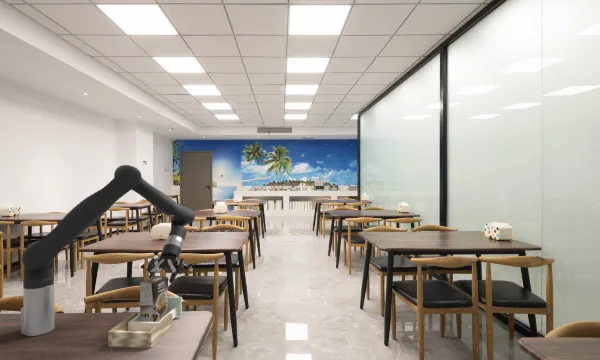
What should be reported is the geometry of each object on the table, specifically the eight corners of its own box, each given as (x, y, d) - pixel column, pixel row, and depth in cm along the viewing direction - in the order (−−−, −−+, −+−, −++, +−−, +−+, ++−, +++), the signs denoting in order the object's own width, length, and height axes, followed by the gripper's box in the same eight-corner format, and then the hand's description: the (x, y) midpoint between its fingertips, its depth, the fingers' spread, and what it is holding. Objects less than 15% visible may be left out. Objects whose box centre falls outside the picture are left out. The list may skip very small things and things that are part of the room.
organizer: (108, 346, 118) (108, 331, 118) (134, 325, 134) (134, 312, 134) (151, 348, 117) (151, 333, 117) (172, 326, 133) (172, 313, 133)
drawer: (123, 330, 127) (123, 311, 127) (146, 313, 143) (146, 295, 143) (163, 332, 126) (163, 312, 126) (181, 314, 142) (181, 296, 142)
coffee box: (154, 325, 130) (154, 283, 129) (139, 324, 131) (139, 282, 130) (168, 315, 138) (168, 276, 138) (153, 314, 140) (153, 275, 139)
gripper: (154, 242, 148) (139, 277, 137) (186, 243, 147) (174, 278, 136) (159, 252, 153) (146, 286, 142) (191, 252, 152) (180, 287, 141)
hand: (160, 282), depth 139 cm, fingers open, 8 cm apart
